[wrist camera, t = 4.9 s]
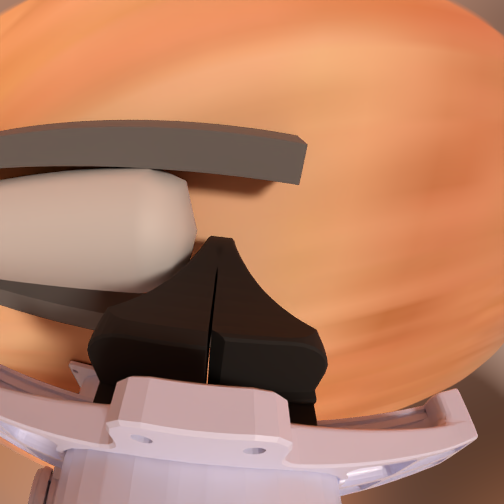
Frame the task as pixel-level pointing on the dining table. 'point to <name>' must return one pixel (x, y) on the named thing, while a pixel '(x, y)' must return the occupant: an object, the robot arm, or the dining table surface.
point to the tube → (96, 228)
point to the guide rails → (137, 156)
